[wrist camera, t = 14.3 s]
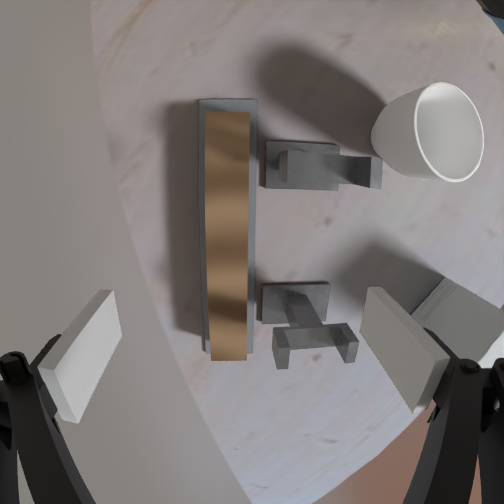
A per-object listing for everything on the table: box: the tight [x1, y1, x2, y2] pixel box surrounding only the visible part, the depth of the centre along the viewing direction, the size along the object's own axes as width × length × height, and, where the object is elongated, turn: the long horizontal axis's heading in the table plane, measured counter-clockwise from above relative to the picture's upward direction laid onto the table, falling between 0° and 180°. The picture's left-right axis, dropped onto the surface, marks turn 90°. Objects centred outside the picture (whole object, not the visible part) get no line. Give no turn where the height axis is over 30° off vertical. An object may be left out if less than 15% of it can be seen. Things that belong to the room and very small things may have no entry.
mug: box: [371, 82, 484, 182], centre depth 26 cm, size 12×9×12 cm
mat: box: [198, 99, 257, 354], centre depth 33 cm, size 30×6×1 cm, turn 179°
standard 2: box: [261, 283, 359, 369], centre depth 31 cm, size 5×8×11 cm, turn 89°
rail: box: [205, 112, 250, 361], centre depth 31 cm, size 26×4×4 cm, turn 179°
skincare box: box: [410, 277, 504, 368], centre depth 31 cm, size 8×6×15 cm
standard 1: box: [265, 141, 383, 191], centre depth 26 cm, size 5×8×11 cm, turn 89°
